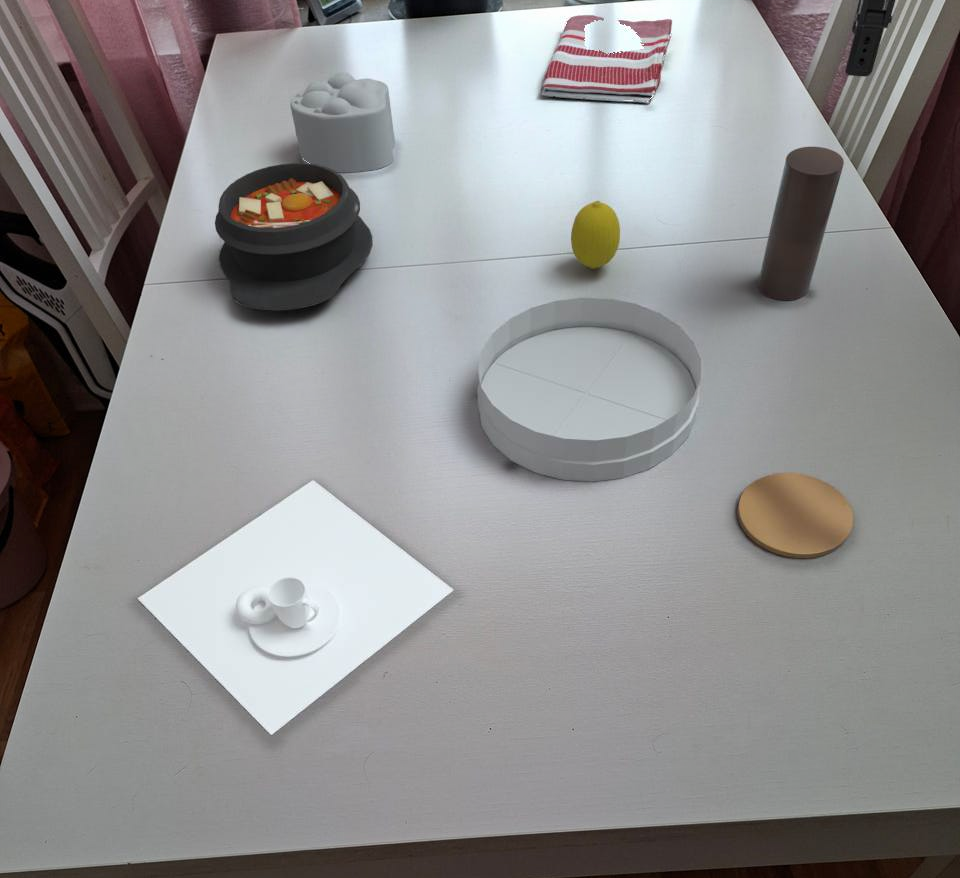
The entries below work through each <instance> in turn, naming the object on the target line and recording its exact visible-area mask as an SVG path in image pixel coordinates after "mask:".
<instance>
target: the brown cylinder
mask: <svg viewBox="0 0 960 878" xmlns="http://www.w3.org/2000/svg"><path fill="white" fill-rule="evenodd" d="M844 160H845V159H844V158H843V157H842V155H841V154H840V153H838V152H837V151H835V150H833V149H830V148H826V147H822V146H802V147H798V148H795V149H793V150H791V151H790V152H789V153H788V154H787V155H786V156H785V161H784V166H783V170H782V175H781V179H780V184H779V188H778V191H777V198H776V202H775V205H774V209H773V210H774V211H773V214H772V219H771V223H770V228H769V233H768V237H767V241H766V246H765V250H764V255H763V258H762V263H761V269H760V272H759V278H758V282H757V287H758V289H759V291H760V292H761V293H762V294H763V295H765V296H766V297H768V298H770V299H773V300H777V301H785V302H787V301H796V300H799V299H801V298H803V297H805V296H806V295H807V294H808V293H809V291H810V287H811V283H812V280H813V276H814V272H815V269H816V265H817V262H818V258H819V255H820V250H821V247H822V244H823V240H824V236H825V234H826V230H827V226H828V222H829V218H830V215H831V211H832V208H833V204H834V200H835V197H836V194H837V190H838V186H839V182H840V179H841V176H842V172H843V169H844V165H845V161H844Z"/></svg>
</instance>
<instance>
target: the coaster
mask: <svg viewBox="0 0 960 878" xmlns="http://www.w3.org/2000/svg"><path fill="white" fill-rule="evenodd" d="M737 519H738V522H739V524H740V526H741V529H742V530H743V532H744V533H745V535H746V536H747V537H748V538H750V540H752V542H754V543H755V544H756V545H758V546H759V547H761V548H763V549H764V550H766V551H768V552H771V553H773V554H776V555H779V556H783V557H786V558H793V559H812V558H818V557H822V556H825V555H829V554H830V553H833V552H834V551H836V550H838V549H839V548H840V547H841V546H842V545H844V543H846V542H847V540H848V538H849V536H850V534H851V532H852V529H853V527H854V526H853V525H854V513H853V510H852V506H851V505H850V503H849V501H848V500H847V498H846V497H845V496H844V494H842V493H841V491H839V490H838V489H837V488H835V486H833V485H831V484H830V483H828V482H826V481H825V480H822V479H820V478H817V477H815V476H811V475H808V474H803V473H796V472H779V473H772V474H768V475H765V476H763V477H760V478H757V479H756V480H754V481H752V483H750V484H749V485H748V486H747V487H746V488H745V489H744V491H742V493H741V495H740V498H739V501H738V504H737Z"/></svg>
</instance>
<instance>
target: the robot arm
mask: <svg viewBox="0 0 960 878" xmlns="http://www.w3.org/2000/svg"><path fill="white" fill-rule="evenodd" d="M895 3H896V0H858V4H857V7H856V12H855V15H854V18H853V19H854V20H853V23H852V28H851V31H852V33H853V38H852V42H851V46H850V49H849V53H848V57H847V61H846V65H845V73H846V75H848V76H852V77H869V76H870V75H871V74H872V73H873V70H874V67H875V62H876V59H877V55H878V52H879V48H880V44H881V41H882V38H883V34H884V32H885V31H884V30H885V29H888V27H889V25H890V24H891V23H892V20H893V15H892V14H893V11H894V7H895Z"/></svg>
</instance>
